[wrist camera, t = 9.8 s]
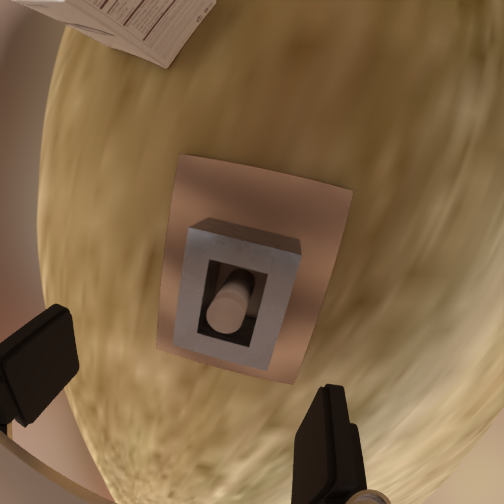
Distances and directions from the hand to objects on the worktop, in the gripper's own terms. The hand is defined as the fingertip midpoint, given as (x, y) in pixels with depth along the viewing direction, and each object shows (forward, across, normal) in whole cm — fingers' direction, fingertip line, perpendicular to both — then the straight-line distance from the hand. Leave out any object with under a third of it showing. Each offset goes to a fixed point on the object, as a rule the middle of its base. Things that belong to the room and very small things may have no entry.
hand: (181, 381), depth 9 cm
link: (+12, 0, +1) cm, 12 cm away
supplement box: (+14, +11, -18) cm, 25 cm away
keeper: (+13, 0, +1) cm, 13 cm away
